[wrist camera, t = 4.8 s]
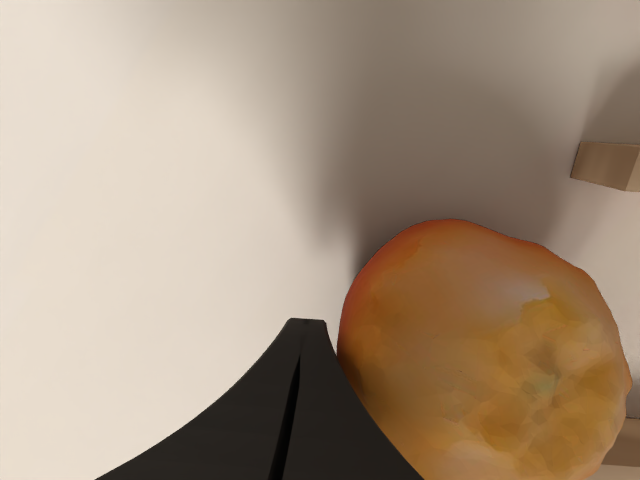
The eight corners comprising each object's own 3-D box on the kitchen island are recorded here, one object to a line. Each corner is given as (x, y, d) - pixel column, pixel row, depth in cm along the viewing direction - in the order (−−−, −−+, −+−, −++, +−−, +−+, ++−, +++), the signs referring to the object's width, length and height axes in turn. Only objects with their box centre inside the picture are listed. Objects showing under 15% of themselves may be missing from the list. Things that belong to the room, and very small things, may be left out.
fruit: (271, 385, 14) (307, 513, 6) (354, 216, 15) (466, 144, 8) (438, 465, 15) (654, 661, 7) (498, 297, 16) (725, 306, 9)
